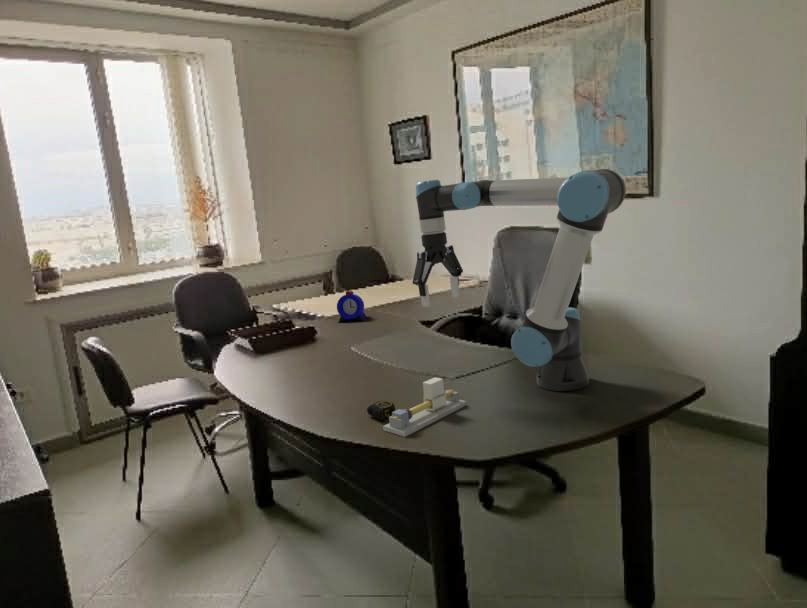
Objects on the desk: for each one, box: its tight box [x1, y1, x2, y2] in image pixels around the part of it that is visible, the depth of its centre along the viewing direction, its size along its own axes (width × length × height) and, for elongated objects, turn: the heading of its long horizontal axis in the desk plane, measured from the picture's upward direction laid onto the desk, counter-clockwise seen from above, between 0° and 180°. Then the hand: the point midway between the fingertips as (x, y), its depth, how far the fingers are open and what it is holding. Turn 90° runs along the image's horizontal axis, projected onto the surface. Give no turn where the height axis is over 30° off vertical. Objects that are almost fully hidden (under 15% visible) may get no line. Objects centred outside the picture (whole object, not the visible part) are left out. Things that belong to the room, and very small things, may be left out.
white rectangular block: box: [422, 376, 447, 412], centre depth 169 cm, size 5×4×8 cm
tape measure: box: [366, 400, 396, 421], centre depth 171 cm, size 7×7×4 cm
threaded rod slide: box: [382, 389, 467, 438], centre depth 167 cm, size 25×8×5 cm, turn 135°
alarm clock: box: [336, 290, 367, 324], centre depth 299 cm, size 12×12×15 cm
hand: (441, 301), depth 188 cm, fingers open, 13 cm apart
